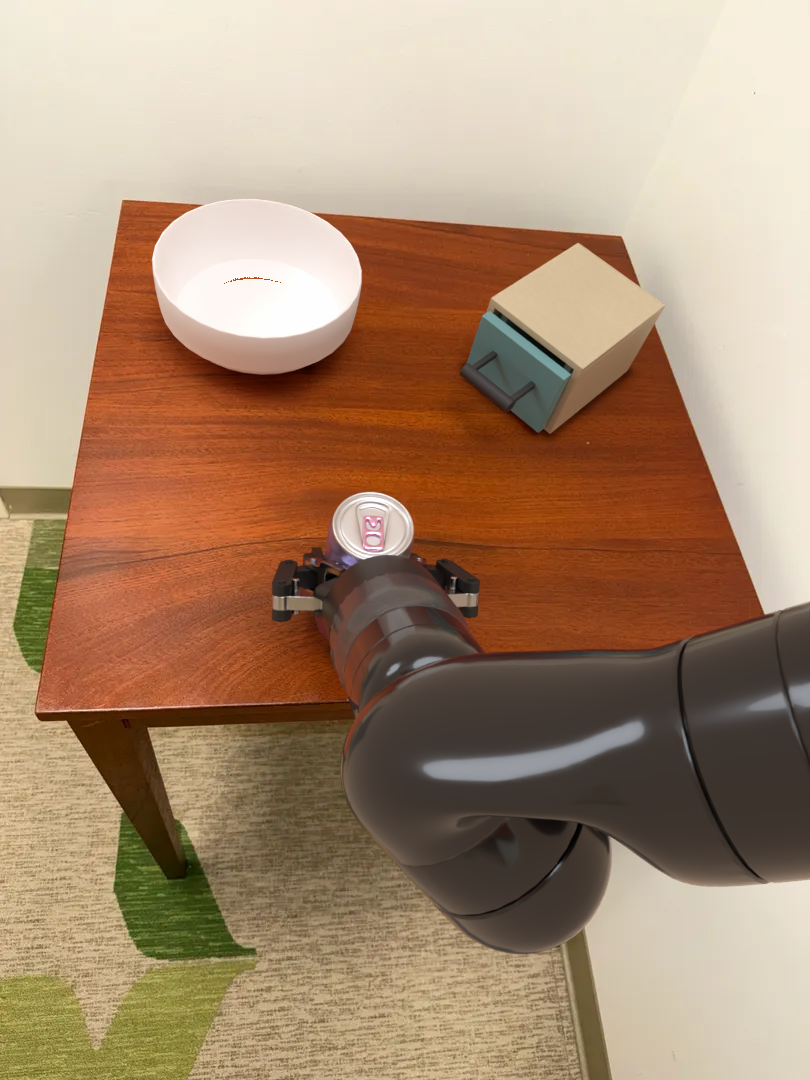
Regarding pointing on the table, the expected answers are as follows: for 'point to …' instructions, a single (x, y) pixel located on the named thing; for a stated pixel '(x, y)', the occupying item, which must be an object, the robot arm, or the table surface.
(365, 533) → the beverage can
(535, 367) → the drawer
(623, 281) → the beige box
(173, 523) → the table surface
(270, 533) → the table surface
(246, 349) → the bowl
